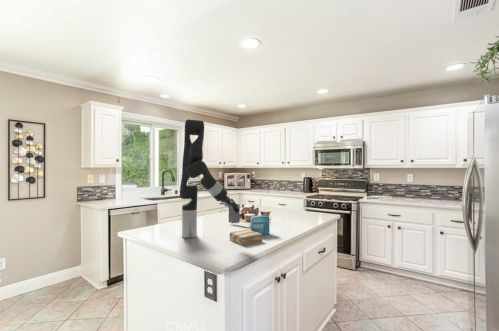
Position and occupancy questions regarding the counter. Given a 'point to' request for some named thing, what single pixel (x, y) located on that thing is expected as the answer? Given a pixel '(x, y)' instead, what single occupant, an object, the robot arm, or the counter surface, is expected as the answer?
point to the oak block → (245, 237)
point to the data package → (260, 224)
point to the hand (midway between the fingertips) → (236, 211)
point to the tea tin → (234, 215)
